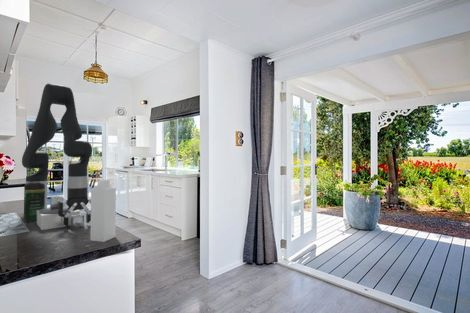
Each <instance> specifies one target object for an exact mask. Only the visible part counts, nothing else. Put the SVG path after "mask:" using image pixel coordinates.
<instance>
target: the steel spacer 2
mask: <svg viewBox="0 0 470 313" xmlns="http://www.w3.org/2000/svg"><path fill="white" fill-rule="evenodd" d="M84 227H85V214H81V213H80V214H79V215H72V216H71V226H70V229H73V230H75V229H77V228H78V229H82V228H84ZM78 229H77V230H78Z"/></svg>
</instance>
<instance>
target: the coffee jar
mask: <svg viewBox="0 0 470 313" xmlns="http://www.w3.org/2000/svg"><path fill="white" fill-rule="evenodd" d="M23 192H24V193H23V221H24V222H25V223H37V210H41V209H44V208H45V184H44V183H41V182H38V181H33V182H29V183H27V184H26V183H25V184H24V188H23Z"/></svg>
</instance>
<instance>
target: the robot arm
mask: <svg viewBox="0 0 470 313" xmlns="http://www.w3.org/2000/svg"><path fill="white" fill-rule="evenodd" d="M74 96H75V95H74V93H73V91H72V89H71V87H69V86H67V85H61V84H57V83H50V82H49V83H46V84H45V85H44V87H43V91H42V94H41V99H40V102H39V103H40V104H39V105H40V106H39V108H38V113H37V115H36V119H35V121H34V124H33V125H32V126H33V127H32V130H31V134H30V137H29V141H28V142H27V146H26V147H25V150H24V151H23V154H22V157H21V165H22V166H23V168H25V169H38V170H37V171H36V172H34V173H31V174H28V175H26V177H25V184H27V183H29V182H33V181H38V182H41V183H44V184H45V208H48V176H49V162H50V156H49V153H48V152H47V151H46V150H45V151H44V150H43V151H42V150H39V149H40V148H41V147H43V146H44V145H46V144H48V143H49V142H50V141H51V140H52V139H53V138H54V137H55V134H56V131H57V129H58V123H57V121H56V119H55V117H54V115H53V114H52V111H51V107H52V105H60V106H65V112H64V113H63V115H62V117H61V118H60V127H61V131H62V132H61V133H62V134H63V153H64V154H65V155H66V156H67V157H69V158H78V160H77V161H75V162H70V163H69V164H68V167H67V168H68V173H67V174H68V175H67V176H68V177H67V188H66V189H67V194H66V195H67V198H66V201H63V202H59V203H58V215H59V216H60V217H64V225H65V227H69V226H68V215H69V214H70V213H71V212H72V210H74V211H75V210H79V211H82V210H84V211H85V213H86V216H85V222H86V224H89V223H90V222H91V209H89V208H88V207H87V205H88V204H90V205H91V198H90V199H89V197H88V192H89V191H88V190H89V188H88V187H89V183H88V182H89V180H88V165H89V161H90V158H91V155H92V151H93V146H92V144H91V143H90V142H89V141H86V140H80V139H81V138H82V136H83V133H82V129H81V126H80V124H79V120H78V117H77V111H76V110H77V108H76V104H75V103H76V102H75V98H74ZM64 206H69V207H68V209H67V210H66V212H65V213H64V214H63V207H64Z"/></svg>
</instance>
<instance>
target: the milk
mask: <svg viewBox="0 0 470 313" xmlns="http://www.w3.org/2000/svg"><path fill="white" fill-rule="evenodd" d="M116 191H117V188H116V187H115V186H114V185H112V184H111V183H110V179H104V180H98V181H97V185H95V187H93V188H91V189H90V199H91V204H90V210H91V221H90V241H92V242H100V243H105V242H107V241H110V240H111V239H114V238H116V221H117V220H116V215H117V214H116V212H117V211H116V208H117V207H116V206H117V204H116V203H117V202H116V200H117V192H116Z"/></svg>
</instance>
